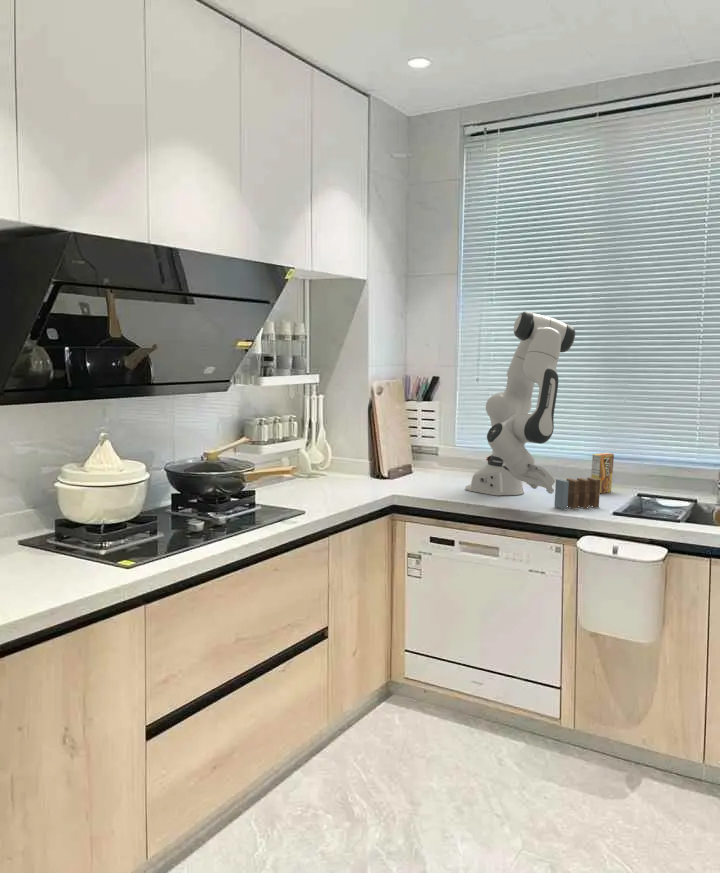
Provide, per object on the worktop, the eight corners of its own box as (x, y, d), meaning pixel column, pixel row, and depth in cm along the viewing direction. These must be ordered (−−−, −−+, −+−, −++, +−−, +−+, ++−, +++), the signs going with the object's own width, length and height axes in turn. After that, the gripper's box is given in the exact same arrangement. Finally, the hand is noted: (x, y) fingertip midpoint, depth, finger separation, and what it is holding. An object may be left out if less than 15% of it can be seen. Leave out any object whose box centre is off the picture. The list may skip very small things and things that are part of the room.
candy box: (602, 490, 315) (605, 452, 313) (612, 492, 312) (614, 453, 310) (589, 492, 309) (591, 453, 307) (598, 494, 306) (601, 455, 304)
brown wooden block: (594, 507, 280) (596, 479, 279) (585, 504, 285) (587, 477, 284) (598, 507, 281) (600, 479, 280) (589, 504, 285) (591, 477, 284)
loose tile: (562, 509, 275) (564, 481, 274) (554, 507, 280) (555, 479, 279) (567, 509, 276) (568, 481, 275) (558, 506, 280) (560, 479, 279)
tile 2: (573, 509, 277) (575, 481, 276) (564, 506, 281) (566, 478, 280) (577, 508, 278) (579, 480, 276) (569, 506, 282) (570, 478, 281)
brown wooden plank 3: (584, 508, 279) (585, 480, 277) (575, 505, 283) (576, 478, 282) (588, 508, 279) (590, 480, 278) (579, 505, 284) (581, 477, 283)
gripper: (544, 460, 260) (567, 488, 265) (510, 452, 279) (532, 478, 284) (532, 474, 259) (556, 502, 264) (499, 465, 278) (521, 491, 283)
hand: (543, 489), depth 274 cm, fingers open, 8 cm apart
